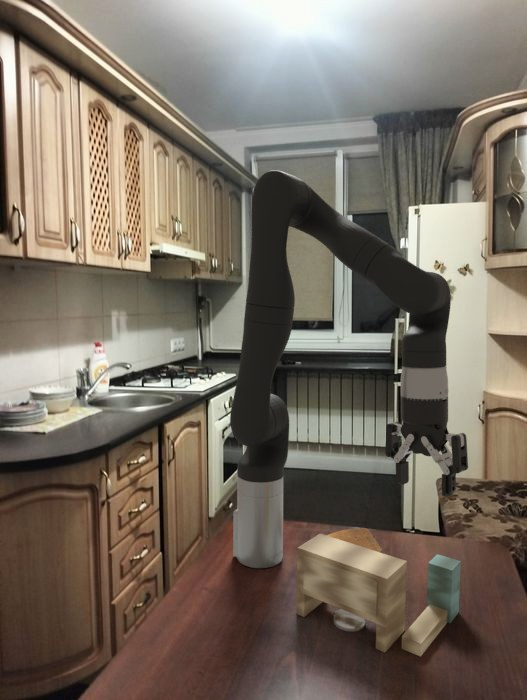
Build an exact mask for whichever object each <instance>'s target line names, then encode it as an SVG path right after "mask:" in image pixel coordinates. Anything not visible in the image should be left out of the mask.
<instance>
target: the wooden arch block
mask: <svg viewBox="0 0 527 700" xmlns="http://www.w3.org/2000/svg"><path fill="white" fill-rule="evenodd" d="M327 535H328V534H324V533H319V534H317V535H316V536H314V537H312V538H310V539H309V540H308V541H306V542H304V543H303V544H301V545H299V546H298V547H297V552H296V555H297V557H296V563H297V564H296V565H297V566H296V615H299V617H300V616H301V617H303V618H305V617H306V616H308V615H309V614H310V613H312V611H313V610H315V609H316V608H318V606H319V605H321V604H322V603H325V604H328V605H329V606H333V607H336V608H338V609H342V610H345V611H347V612H350V613H352V614H354V615H357V616H359V617H362V618H364V619H365V620H367V621H369V622H372V623H374V624H376V626H375V627H376V630H375V632H376V633H375V649H376V650H378V651H380V652H381V653H386V652H387V651H388V650H389V649H390V648H391V647H392V645H393V644H394V643H395V642H396V641H397V640H398V639H399V638H400V636H401V635H403V634H404V633H405V632H406V631H405V628H406V596H407V595H406V594H407V574H408V573H407V571H408V570H407V566H408V564H407V563H408V561H407V560H404V559H401V558H398V557H396V556H392V555H388V554H386V553H383V552H377V551H374V550H370V549H367V548H364V547H361V546H358V545H355V544H352V543H349V542H345V541H342V540H339V539H336V538H333V537H330V536H327Z"/></svg>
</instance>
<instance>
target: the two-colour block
mask: <svg viewBox="0 0 527 700" xmlns="http://www.w3.org/2000/svg"><path fill="white" fill-rule="evenodd" d="M461 563H462V561H461V560H458V559H454V558H451V557H448V556H445V555H441V554H438V553H437V554H436V555H434V557H433V558H432V559H430V561H428V564H427V565H428V566H427V587H426V590H427V591H426V592H427V593H426V608H424V610H423V611H422V612H421V614H420V615H419V616H418V617H417V618H416V619H415V620H414V621H413V622H412V624H411V625H410V626H409V627H408V629H406V631H404V632H403V633H402V634H401V635H402V636H401V650H404V651H406V652H409V653H411V654H413V655H416V656H419V657H422V655H423V654H424V653H425V652H426V651H427V650H428V648H429V647H430V646H431V644H432V642H434V640H435V639H436V638H437V636H438V635H439V634H440V632H441V631H442V630H443V629H444V627H445V626H446V625H447V624H451V623H452V622H453V621H454V619H455V618H456V616H458V614H459V612H460V611H459V610H460V591H461V586H460V585H461V567H462V566H461V565H462V564H461Z"/></svg>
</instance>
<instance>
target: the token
mask: <svg viewBox="0 0 527 700" xmlns="http://www.w3.org/2000/svg"><path fill="white" fill-rule="evenodd" d="M365 623H366V619H364V618H362V617H359V616H357V615H354V614H352V613H350V612H347V611H345V610H342V609H340V608H338V609H337V610H336V611H335V612H334V613H333V624H334V626H335V627H336V628H337V629H339V630H342V631H345V632H353V633H354V632H358V631H361V630H363V629H364V627H365V626H366V624H365Z"/></svg>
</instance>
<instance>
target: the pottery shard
mask: <svg viewBox="0 0 527 700" xmlns="http://www.w3.org/2000/svg"><path fill="white" fill-rule="evenodd" d="M326 535H327V536H330V537H333V538H336V539H339V540H342V541H345V542H349V543H352V544H355V545H358V546H361V547H364V548H367V549H370V550H374V551H377V552H380V553H382V547H381V546H380V544H379V542H378V540H376V539H375V538H374V536H373V534H372V533H371V532H370V530H368V529H367V528H366V527H362V528H350V529H343V530H338V531H334V532H331V533H329V534H326Z"/></svg>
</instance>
